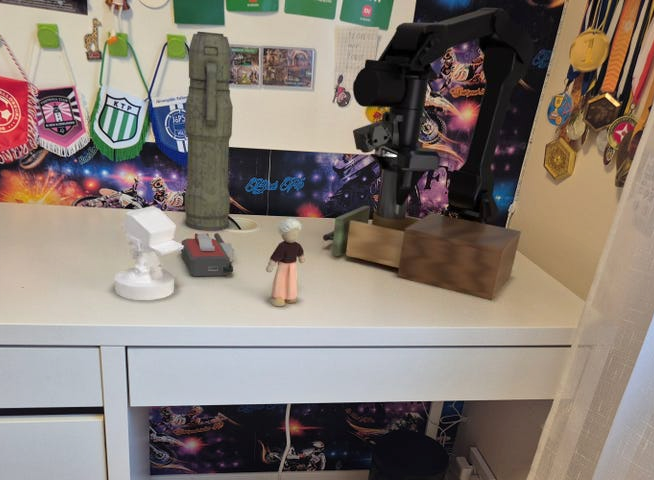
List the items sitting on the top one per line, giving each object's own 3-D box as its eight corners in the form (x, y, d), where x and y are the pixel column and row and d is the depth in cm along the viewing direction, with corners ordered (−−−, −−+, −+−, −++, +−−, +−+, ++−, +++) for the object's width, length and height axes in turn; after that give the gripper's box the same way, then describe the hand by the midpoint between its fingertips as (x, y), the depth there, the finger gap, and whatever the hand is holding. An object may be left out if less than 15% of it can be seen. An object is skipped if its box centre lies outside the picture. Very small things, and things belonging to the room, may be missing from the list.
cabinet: (397, 276, 111) (404, 228, 108) (423, 257, 123) (431, 213, 119) (491, 300, 105) (503, 249, 101) (510, 277, 117) (521, 231, 113)
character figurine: (144, 275, 101) (142, 199, 96) (191, 290, 97) (192, 212, 92) (102, 290, 94) (97, 209, 89) (151, 306, 90) (149, 223, 85)
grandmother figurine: (281, 311, 93) (288, 225, 87) (259, 304, 95) (265, 219, 89) (308, 297, 99) (316, 216, 93) (288, 290, 101) (294, 210, 95)
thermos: (190, 233, 124) (191, 31, 108) (180, 216, 134) (180, 29, 118) (234, 232, 127) (242, 35, 111) (222, 216, 137) (227, 34, 121)
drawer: (313, 250, 118) (316, 213, 115) (343, 235, 129) (347, 201, 126) (411, 274, 111) (418, 235, 108) (435, 256, 121) (441, 220, 118)
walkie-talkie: (244, 278, 104) (221, 242, 121) (246, 252, 102) (222, 218, 119) (190, 279, 101) (174, 242, 118) (190, 253, 99) (174, 218, 116)
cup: (382, 210, 118) (388, 165, 115) (409, 215, 116) (417, 170, 113) (371, 215, 114) (377, 169, 111) (399, 221, 112) (406, 174, 108)
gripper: (342, 98, 113) (333, 187, 120) (384, 111, 97) (370, 213, 104) (400, 102, 116) (387, 189, 123) (449, 116, 100) (432, 214, 107)
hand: (392, 200), depth 114 cm, fingers closed on cup, 5 cm apart
